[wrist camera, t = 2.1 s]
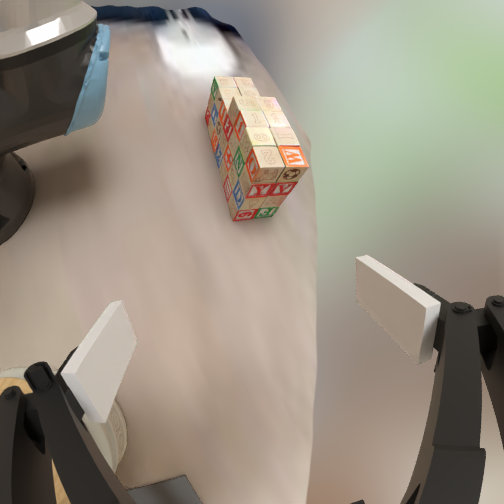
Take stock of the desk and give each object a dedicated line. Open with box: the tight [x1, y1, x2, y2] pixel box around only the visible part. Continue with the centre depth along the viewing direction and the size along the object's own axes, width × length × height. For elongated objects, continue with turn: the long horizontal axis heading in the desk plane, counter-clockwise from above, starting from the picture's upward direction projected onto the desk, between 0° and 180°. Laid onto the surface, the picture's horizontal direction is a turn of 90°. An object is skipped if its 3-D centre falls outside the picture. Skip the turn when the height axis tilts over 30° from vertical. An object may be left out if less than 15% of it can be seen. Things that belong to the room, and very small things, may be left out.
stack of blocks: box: [205, 76, 309, 221], centre depth 39 cm, size 21×6×12 cm, turn 17°
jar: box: [0, 367, 127, 504], centre depth 16 cm, size 13×13×18 cm
